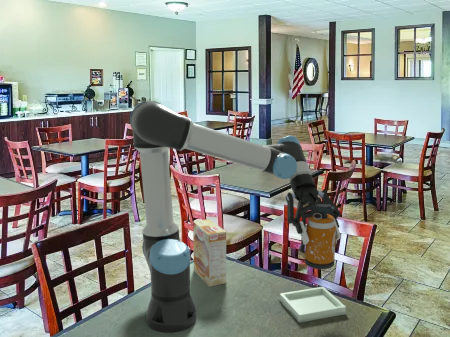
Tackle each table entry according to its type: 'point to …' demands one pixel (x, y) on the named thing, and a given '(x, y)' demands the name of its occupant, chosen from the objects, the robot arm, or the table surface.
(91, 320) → the table surface
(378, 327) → the table surface
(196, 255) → the coffeecake box
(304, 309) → the tray
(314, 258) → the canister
